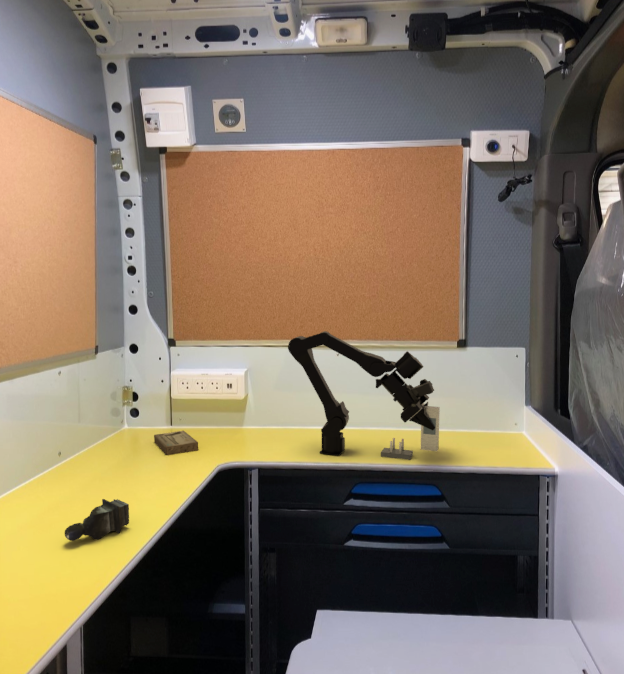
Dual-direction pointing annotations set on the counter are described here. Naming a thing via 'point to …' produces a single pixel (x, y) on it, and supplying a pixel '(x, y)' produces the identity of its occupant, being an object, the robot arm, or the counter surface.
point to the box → (176, 442)
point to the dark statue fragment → (101, 521)
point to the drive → (431, 436)
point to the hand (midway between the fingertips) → (434, 428)
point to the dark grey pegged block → (397, 451)
